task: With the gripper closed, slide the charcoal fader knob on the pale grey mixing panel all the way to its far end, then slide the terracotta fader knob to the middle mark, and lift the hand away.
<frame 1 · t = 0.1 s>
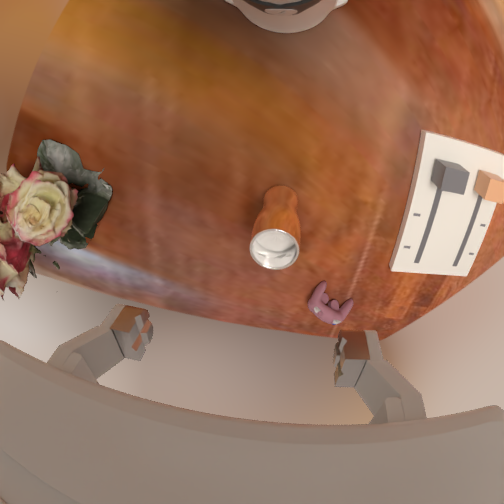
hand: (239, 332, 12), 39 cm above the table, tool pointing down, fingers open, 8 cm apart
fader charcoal: (450, 176, 37), point 5 cm above the table, slide at 0.0 cm
video game controller: (330, 295, 62), on the table
beer glass: (281, 200, 50), on the table
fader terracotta: (491, 186, 36), point 5 cm above the table, slide at 0.0 cm
fader panel: (450, 210, 45), on the table
rose bouquet: (63, 189, 55), on the table
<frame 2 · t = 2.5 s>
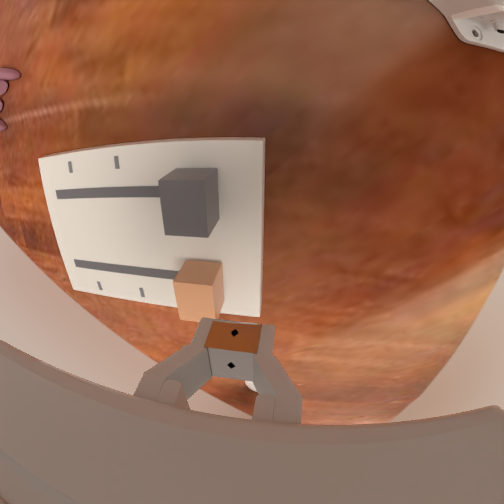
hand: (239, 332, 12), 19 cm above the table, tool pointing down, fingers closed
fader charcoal: (190, 200, 25), point 4 cm above the table, slide at 0.0 cm
video game controller: (7, 96, 25), on the table
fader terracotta: (200, 291, 30), point 5 cm above the table, slide at 0.0 cm
fader panel: (143, 226, 32), on the table
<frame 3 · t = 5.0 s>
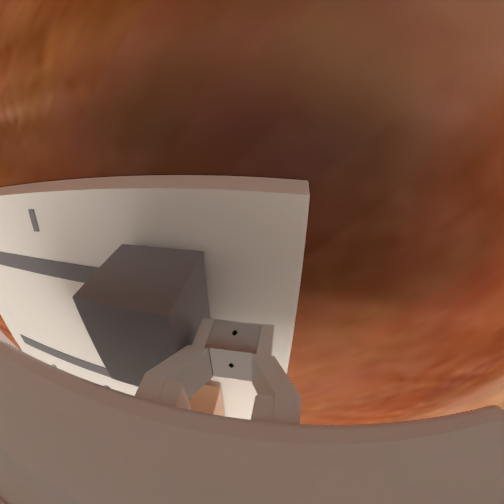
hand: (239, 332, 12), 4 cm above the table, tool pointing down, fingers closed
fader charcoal: (151, 321, 12), point 4 cm above the table, slide at 0.1 cm, touching gripper
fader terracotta: (188, 423, 17), point 5 cm above the table, slide at 0.0 cm
fader panel: (97, 310, 19), on the table
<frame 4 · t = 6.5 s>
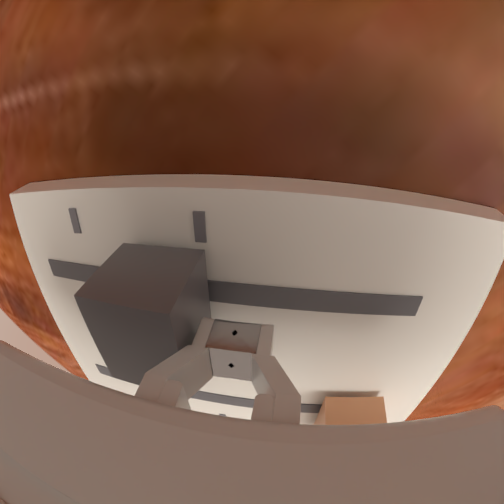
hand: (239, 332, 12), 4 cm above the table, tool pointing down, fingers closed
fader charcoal: (153, 319, 12), point 5 cm above the table, slide at 10.7 cm, touching gripper
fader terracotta: (346, 438, 15), point 4 cm above the table, slide at 0.0 cm
fader panel: (236, 334, 18), on the table
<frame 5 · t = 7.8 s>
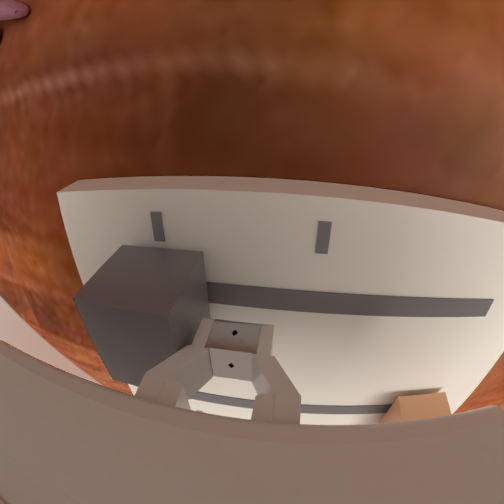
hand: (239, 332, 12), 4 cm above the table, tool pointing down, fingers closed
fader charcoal: (152, 321, 12), point 5 cm above the table, slide at 15.8 cm, touching gripper
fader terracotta: (412, 434, 15), point 5 cm above the table, slide at 0.0 cm
fader panel: (317, 343, 17), on the table
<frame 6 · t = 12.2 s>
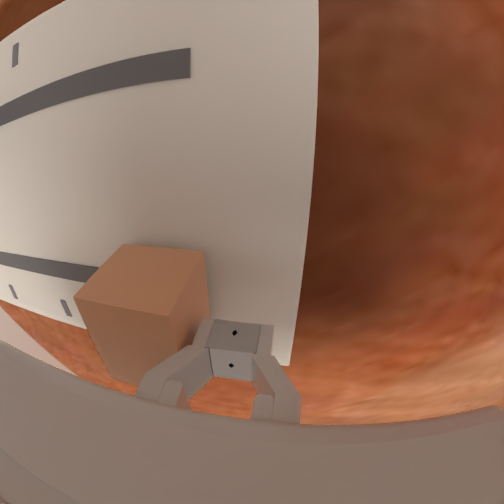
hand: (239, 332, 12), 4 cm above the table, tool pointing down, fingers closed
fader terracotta: (152, 320, 12), point 5 cm above the table, slide at 0.1 cm, touching gripper
fader panel: (60, 180, 14), on the table
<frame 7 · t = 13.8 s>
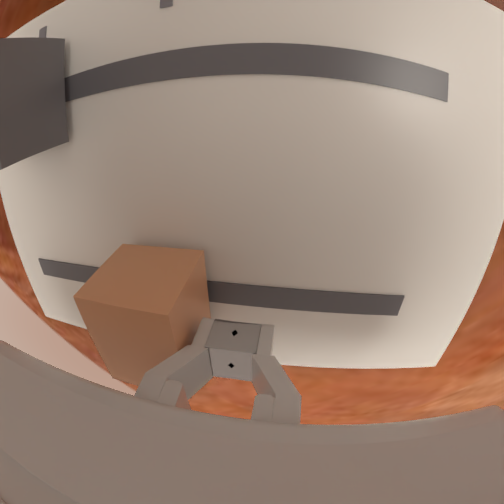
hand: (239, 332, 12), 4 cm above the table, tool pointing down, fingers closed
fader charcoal: (7, 105, 7), point 4 cm above the table, slide at 15.8 cm
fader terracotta: (152, 320, 12), point 4 cm above the table, slide at 9.7 cm, touching gripper
fader panel: (209, 174, 13), on the table
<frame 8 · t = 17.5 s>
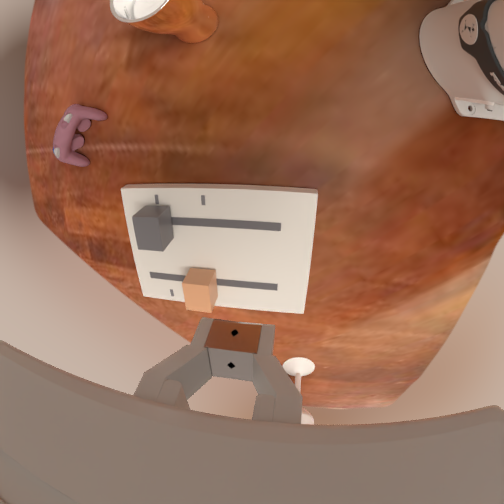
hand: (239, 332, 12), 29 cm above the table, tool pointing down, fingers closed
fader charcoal: (153, 227, 39), point 4 cm above the table, slide at 15.8 cm
video game controller: (88, 132, 37), on the table
beer glass: (196, 23, 28), on the table
champagne flute: (298, 366, 56), on the table
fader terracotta: (200, 290, 43), point 5 cm above the table, slide at 9.8 cm
fader panel: (217, 247, 44), on the table
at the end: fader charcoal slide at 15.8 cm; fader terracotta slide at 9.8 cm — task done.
